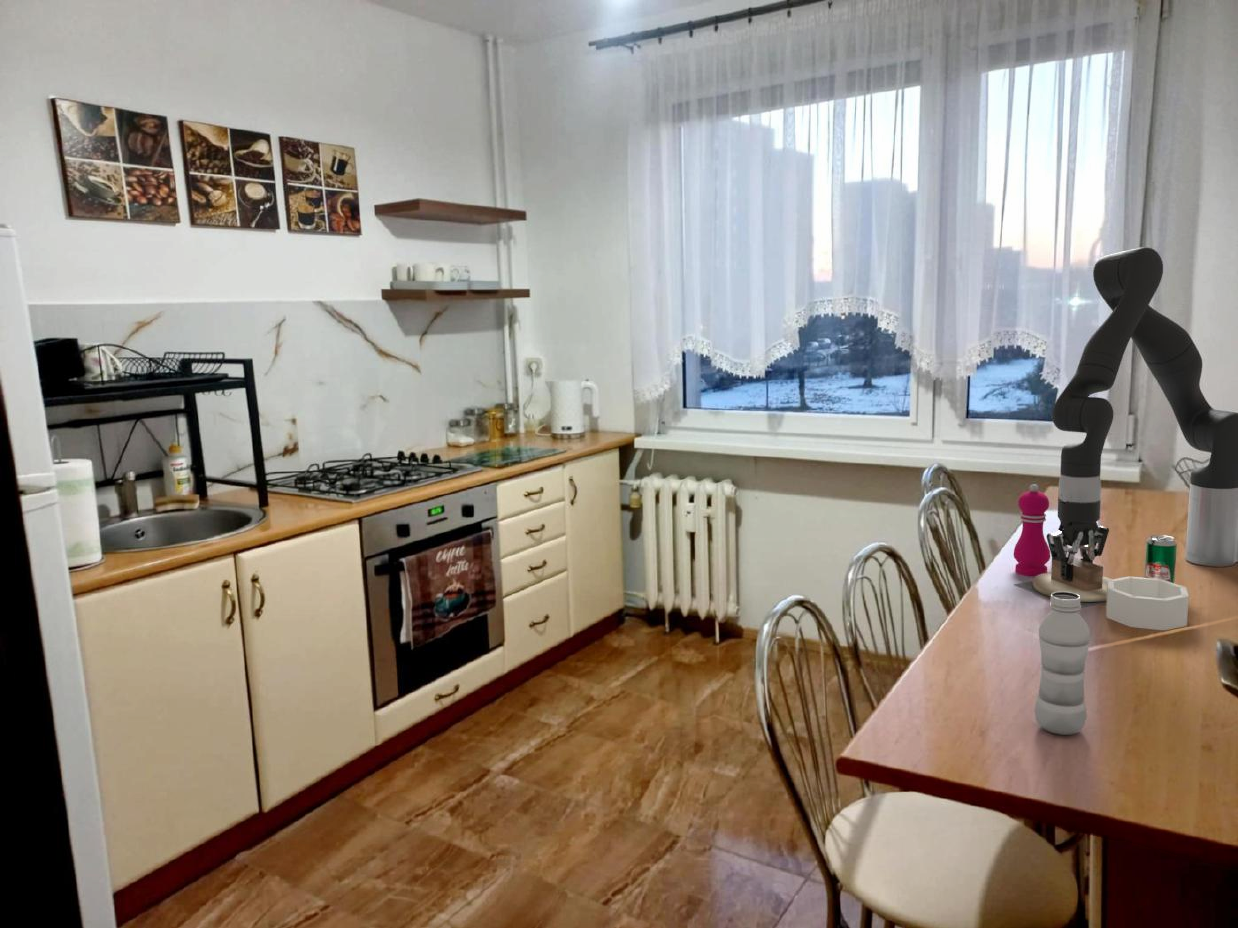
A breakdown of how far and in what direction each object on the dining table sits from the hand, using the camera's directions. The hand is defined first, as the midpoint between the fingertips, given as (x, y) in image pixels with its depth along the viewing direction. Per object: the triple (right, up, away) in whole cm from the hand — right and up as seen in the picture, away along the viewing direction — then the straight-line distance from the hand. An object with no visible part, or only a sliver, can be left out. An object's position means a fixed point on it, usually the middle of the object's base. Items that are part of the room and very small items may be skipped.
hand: (1076, 578), depth 177 cm
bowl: (+5, -6, -15) cm, 17 cm away
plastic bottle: (-30, -15, -53) cm, 62 cm away
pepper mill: (-3, -1, +13) cm, 13 cm away
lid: (0, -2, 0) cm, 2 cm away
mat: (0, -3, +1) cm, 3 cm away
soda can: (+14, -3, -4) cm, 15 cm away
